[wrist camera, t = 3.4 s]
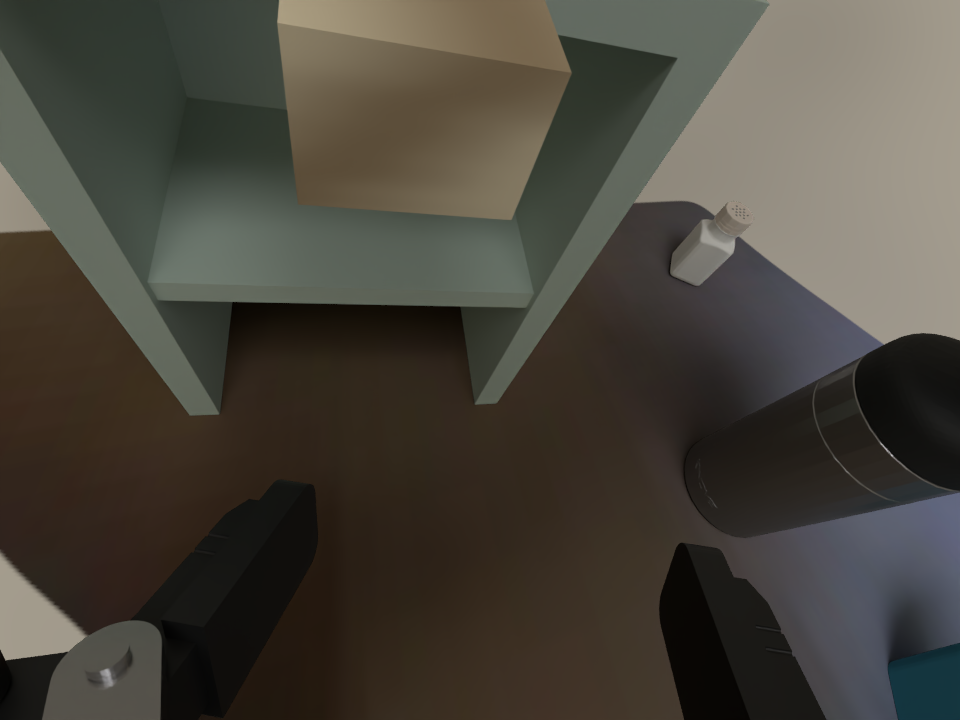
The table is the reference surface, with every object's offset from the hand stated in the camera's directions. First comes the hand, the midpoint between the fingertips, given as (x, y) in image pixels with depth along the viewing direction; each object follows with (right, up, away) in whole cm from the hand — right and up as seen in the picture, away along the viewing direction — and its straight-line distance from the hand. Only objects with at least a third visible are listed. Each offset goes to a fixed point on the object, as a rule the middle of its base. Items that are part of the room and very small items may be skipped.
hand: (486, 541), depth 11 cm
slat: (-3, +18, +2) cm, 18 cm away
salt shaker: (+24, +14, +46) cm, 54 cm away
